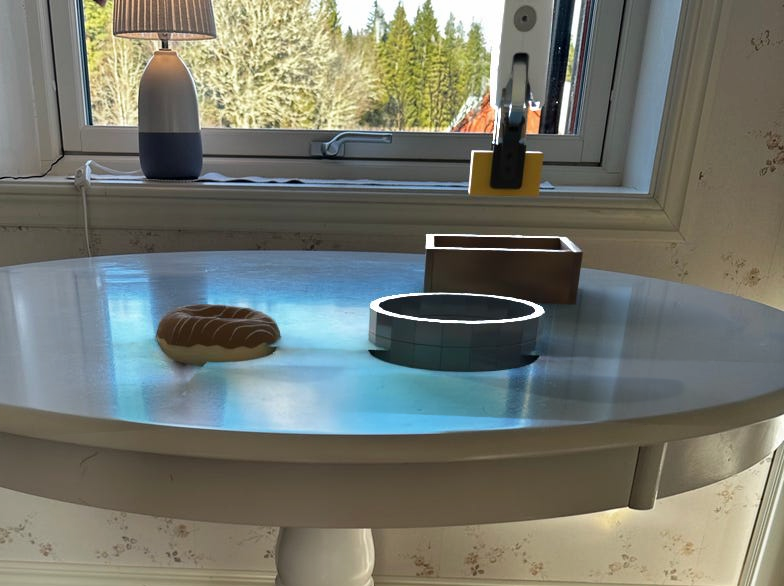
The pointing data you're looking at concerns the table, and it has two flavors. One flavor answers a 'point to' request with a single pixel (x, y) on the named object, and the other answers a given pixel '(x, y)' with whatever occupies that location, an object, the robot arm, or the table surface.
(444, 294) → the bowl
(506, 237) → the box
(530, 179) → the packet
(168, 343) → the donut
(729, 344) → the table surface
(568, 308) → the table surface
